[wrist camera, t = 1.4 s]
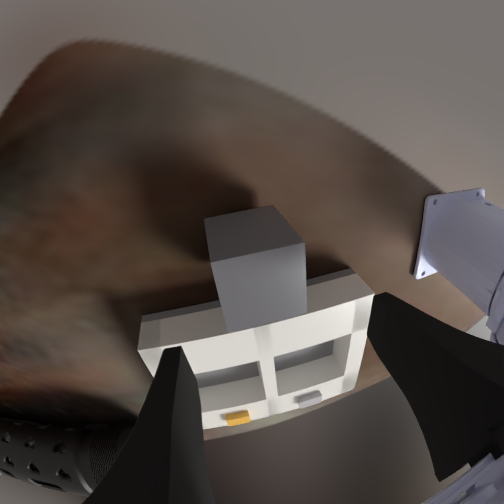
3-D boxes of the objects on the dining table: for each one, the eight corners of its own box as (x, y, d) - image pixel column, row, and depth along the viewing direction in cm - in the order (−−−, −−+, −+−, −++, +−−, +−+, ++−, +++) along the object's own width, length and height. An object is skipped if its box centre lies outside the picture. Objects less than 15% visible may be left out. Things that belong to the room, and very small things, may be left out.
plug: (268, 199, 17) (304, 242, 12) (274, 256, 19) (306, 313, 14) (202, 212, 17) (210, 262, 11) (215, 269, 18) (227, 332, 13)
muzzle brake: (-17, 398, 21) (-33, 453, 12) (139, 402, 24) (140, 493, 15) (21, 433, 25) (12, 483, 16) (171, 438, 29) (178, 510, 20)
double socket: (351, 267, 21) (379, 298, 17) (340, 363, 27) (356, 393, 23) (142, 315, 19) (136, 357, 15) (187, 402, 25) (191, 436, 21)
